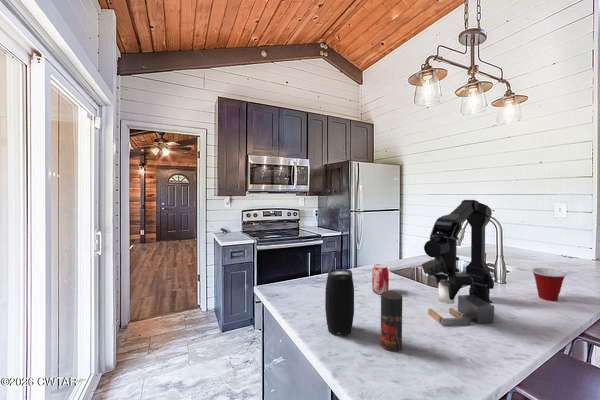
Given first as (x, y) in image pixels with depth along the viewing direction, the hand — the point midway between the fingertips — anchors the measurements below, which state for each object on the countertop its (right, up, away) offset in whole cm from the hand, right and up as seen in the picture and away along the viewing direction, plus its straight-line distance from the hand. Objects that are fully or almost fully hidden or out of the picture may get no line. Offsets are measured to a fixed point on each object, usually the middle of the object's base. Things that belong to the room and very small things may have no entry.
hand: (446, 296), depth 96 cm
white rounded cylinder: (0, -2, 0) cm, 2 cm away
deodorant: (-26, -9, -17) cm, 32 cm away
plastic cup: (+53, -8, +18) cm, 56 cm away
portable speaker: (-40, -8, -8) cm, 41 cm away
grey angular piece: (+4, -8, +1) cm, 9 cm away
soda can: (-16, -7, +25) cm, 31 cm away
